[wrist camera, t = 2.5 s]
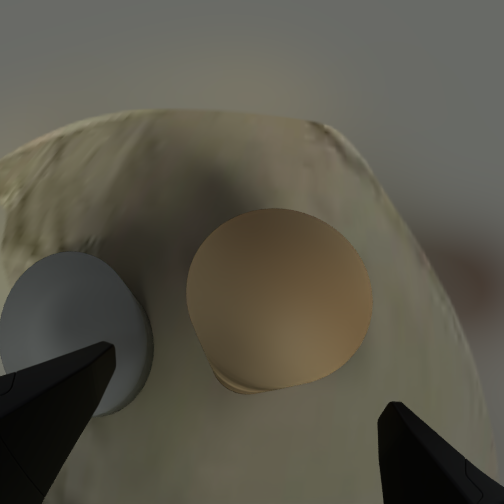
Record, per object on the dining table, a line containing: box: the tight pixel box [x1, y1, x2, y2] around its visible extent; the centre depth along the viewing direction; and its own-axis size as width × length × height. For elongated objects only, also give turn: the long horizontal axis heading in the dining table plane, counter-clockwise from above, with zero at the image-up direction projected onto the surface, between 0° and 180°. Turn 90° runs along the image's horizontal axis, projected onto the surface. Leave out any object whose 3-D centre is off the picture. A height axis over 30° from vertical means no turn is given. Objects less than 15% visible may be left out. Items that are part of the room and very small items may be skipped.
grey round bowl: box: [0, 252, 154, 417], centre depth 15 cm, size 10×10×4 cm
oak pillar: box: [186, 209, 373, 394], centre depth 12 cm, size 4×4×12 cm
